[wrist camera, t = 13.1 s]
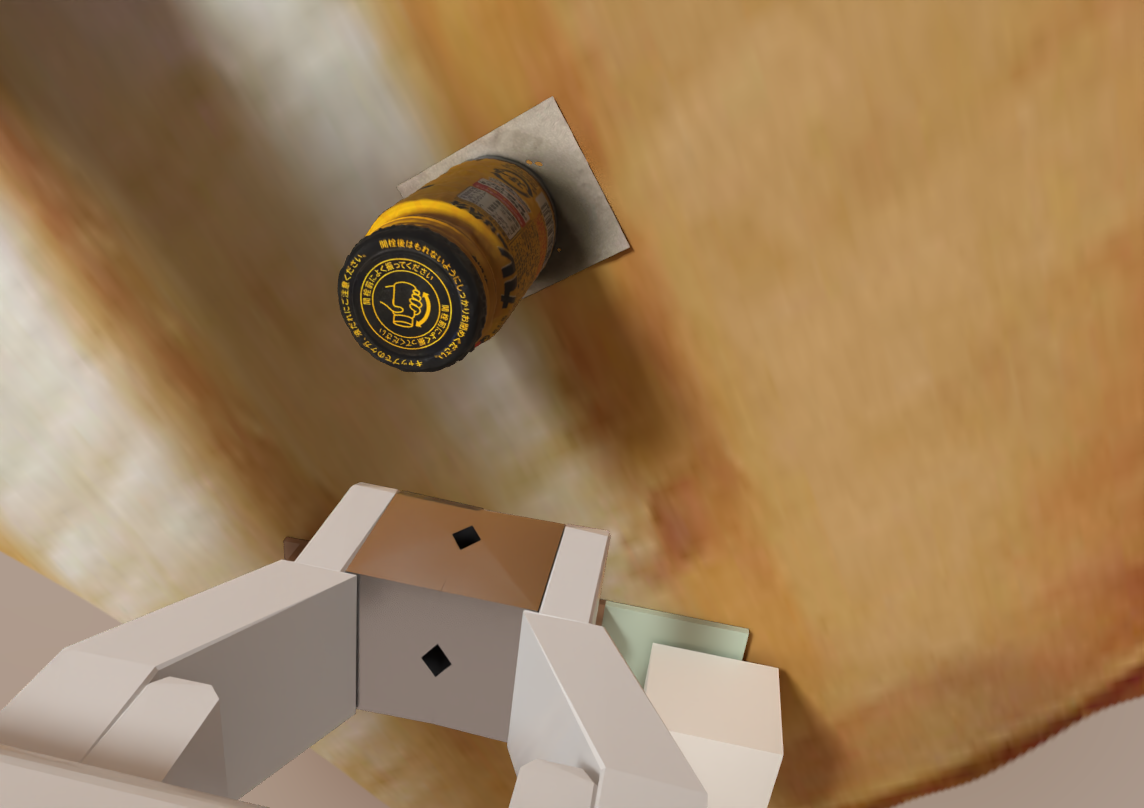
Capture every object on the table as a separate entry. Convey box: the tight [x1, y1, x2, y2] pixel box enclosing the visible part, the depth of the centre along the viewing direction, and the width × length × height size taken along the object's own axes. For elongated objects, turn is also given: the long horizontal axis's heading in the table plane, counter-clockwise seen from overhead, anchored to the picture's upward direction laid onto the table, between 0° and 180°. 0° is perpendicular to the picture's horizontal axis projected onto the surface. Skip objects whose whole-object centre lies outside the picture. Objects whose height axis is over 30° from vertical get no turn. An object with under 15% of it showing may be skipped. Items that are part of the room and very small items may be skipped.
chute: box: [284, 537, 749, 690], centre depth 49 cm, size 27×8×3 cm, turn 84°
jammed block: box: [644, 643, 783, 808], centre depth 46 cm, size 7×5×6 cm
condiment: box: [338, 96, 630, 372], centre depth 34 cm, size 7×8×12 cm
